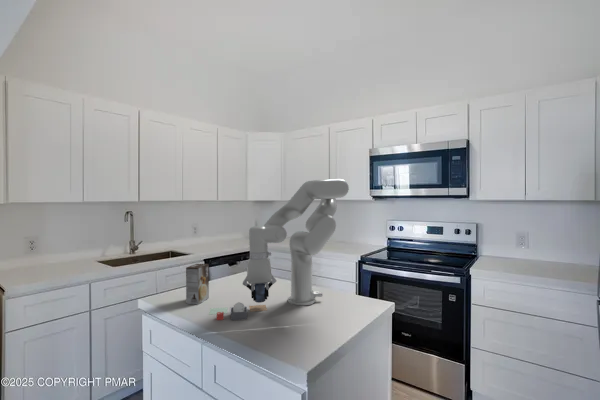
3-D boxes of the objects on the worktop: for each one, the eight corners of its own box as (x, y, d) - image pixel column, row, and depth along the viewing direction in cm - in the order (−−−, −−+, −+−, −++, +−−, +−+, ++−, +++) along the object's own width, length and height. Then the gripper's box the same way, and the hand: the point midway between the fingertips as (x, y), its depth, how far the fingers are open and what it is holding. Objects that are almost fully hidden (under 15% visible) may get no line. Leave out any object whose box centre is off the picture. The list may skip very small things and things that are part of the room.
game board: (265, 305, 132) (265, 298, 132) (269, 318, 117) (269, 310, 117) (210, 309, 127) (210, 302, 127) (207, 323, 113) (207, 314, 113)
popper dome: (244, 313, 121) (244, 300, 121) (244, 317, 116) (244, 304, 116) (233, 314, 120) (233, 301, 120) (233, 318, 115) (233, 304, 115)
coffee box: (196, 297, 143) (196, 263, 143) (209, 298, 142) (209, 263, 142) (185, 303, 134) (185, 267, 134) (198, 304, 133) (199, 267, 133)
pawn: (264, 298, 131) (264, 277, 130) (265, 301, 126) (265, 279, 126) (254, 299, 130) (253, 278, 130) (255, 303, 125) (254, 280, 125)
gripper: (277, 253, 133) (278, 294, 133) (238, 255, 130) (239, 298, 130) (280, 256, 126) (281, 300, 126) (238, 259, 122) (239, 304, 122)
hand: (260, 298), depth 128 cm, fingers closed on pawn, 4 cm apart
